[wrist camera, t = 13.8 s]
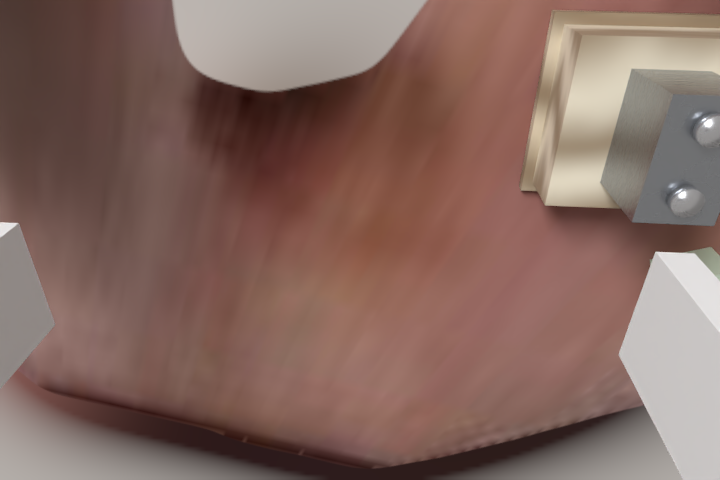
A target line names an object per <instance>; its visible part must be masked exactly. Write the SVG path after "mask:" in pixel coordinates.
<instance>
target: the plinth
mask: <svg viewBox="0 0 720 480" xmlns="http://www.w3.org/2000/svg"><path fill="white" fill-rule="evenodd" d="M631 69H660V70H689V71H712V72H714V73H716V74H718V75H720V14H692V13H653V12H613V11H574V10H552V13H551V18H550V24H549V29H548V34H547V40H546V45H545V50H544V56H543V61H542V66H541V72H540V77H539V82H538V88H537V93H536V98H535V104H534V109H533V114H532V120H531V125H530V130H529V136H528V141H527V146H526V152H525V157H524V162H523V168H522V173H521V178H520V184H519V187H520V189H521V190H523V191H538V193H539V195H540V197H541V199H542V201H543V203H544V205H546V206H570V207H594V208H619V209H621V208H620V207H619V205H618V204H617V203H616V202H615V200H614V199H613V198H612V197H611V195H610V194H609V193H608V191H607V190H606V189H605V188H604V186H603V185H602V184H601V183H600V181H601V177H602V174H603V170H604V166H605V163H606V159H607V156H608V152H609V148H610V145H611V141H612V138H613V134H614V130H615V127H616V123H617V120H618V116H619V112H620V109H621V105H622V102H623V98H624V94H625V91H626V87H627V84H628V80H629V76H630V73H631Z"/></svg>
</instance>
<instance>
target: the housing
mask: <svg viewBox="0 0 720 480" xmlns="http://www.w3.org/2000/svg"><path fill="white" fill-rule="evenodd" d="M600 183H601V184H602V185H603V186H604V188H605V189H606V190H607V191H608V193H609V194H610V195H611V197H612V198H613V199H614V200H615V202H616V203H617V204H618V205H619V207H620V208H621V209H622V211H623V212H624V213H625V214H626V216H627V217H628V218H629V219H630V221H631V222H637V223H659V224H680V225H702V226H714V225H715V222H716V220H717V217H718V215H719V213H720V75H718V74H716V73H714V72H712V71H689V70H660V69H631V73H630V76H629V80H628V84H627V87H626V91H625V94H624V98H623V102H622V105H621V109H620V112H619V116H618V120H617V123H616V127H615V130H614V134H613V138H612V141H611V145H610V148H609V152H608V156H607V159H606V163H605V166H604V170H603V174H602V177H601V181H600Z"/></svg>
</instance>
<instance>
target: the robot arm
mask: <svg viewBox="0 0 720 480" xmlns="http://www.w3.org/2000/svg"><path fill="white" fill-rule="evenodd" d="M54 326H55V322H54V319H53V317H52V314H51V311H50V308H49V306H48V303H47V300H46V297H45V294H44V292H43V289H42V286H41V283H40V281H39V278H38V275H37V272H36V270H35V267H34V264H33V261H32V259H31V256H30V253H29V250H28V247H27V245H26V242H25V239H24V236H23V234H22V231H21V228H20V225H19V223H3V222H0V389H1V388H2V386H3V385H4V384H5V383H6V382H7V381H8V379H9V378H10V377H11V376H12V375H13V373H14V372H15V371H16V370H17V369H18V368H19V367H20V365H21V364H22V363H23V362H24V361H25V360H26V358H27V357H28V356H29V355H30V354H31V353H32V351H33V350H34V349H35V348H36V347H37V346H38V344H39V343H40V342H41V341H42V340H43V339H44V337H45V336H46V335H47V334H48V333H49V332H50V330H51V329H52V328H53V327H54ZM619 356H620V358H621V360H622V362H623V364H624V366H625V368H626V370H627V372H628V374H629V376H630V378H631V380H632V382H633V384H634V386H635V388H636V389H637V391H638V393H639V395H640V397H641V399H642V401H643V403H644V405H645V407H646V409H647V411H648V413H649V415H650V417H651V419H652V421H653V423H654V424H655V426H656V428H657V430H658V432H659V434H660V436H661V438H662V440H663V442H664V444H665V446H666V448H667V450H668V452H669V454H670V456H671V457H672V459H673V461H674V463H675V465H676V467H677V469H678V471H679V473H680V475H681V477H682V479H683V480H720V281H719V280H718V279H717V277H716V276H715V275H714V274H713V273H712V272H711V271H710V270H709V269H708V268H707V266H706V265H705V264H704V263H703V262H702V261H701V260H700V259H699V258H698V256H697V255H696V254H695V253H673V252H655V255H654V257H653V260H652V263H651V266H650V268H649V271H648V274H647V277H646V280H645V282H644V285H643V288H642V291H641V294H640V296H639V299H638V302H637V305H636V308H635V310H634V313H633V316H632V319H631V321H630V324H629V327H628V330H627V333H626V335H625V338H624V341H623V344H622V347H621V349H620V352H619Z"/></svg>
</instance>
